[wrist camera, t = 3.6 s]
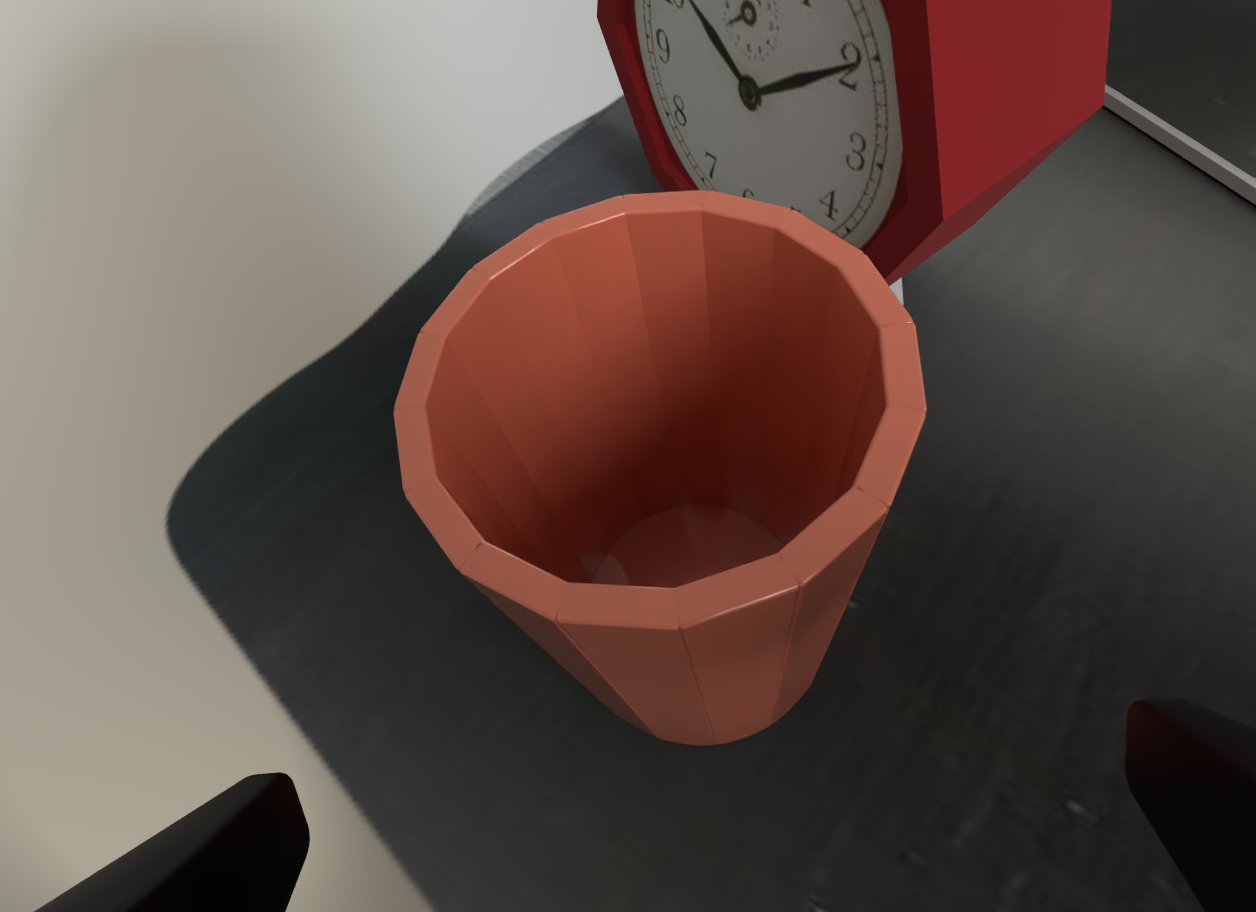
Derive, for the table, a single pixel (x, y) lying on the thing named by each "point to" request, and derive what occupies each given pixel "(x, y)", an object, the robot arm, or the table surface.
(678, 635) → the coral cup
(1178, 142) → the chair
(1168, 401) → the table surface
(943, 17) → the alarm clock
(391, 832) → the table surface
